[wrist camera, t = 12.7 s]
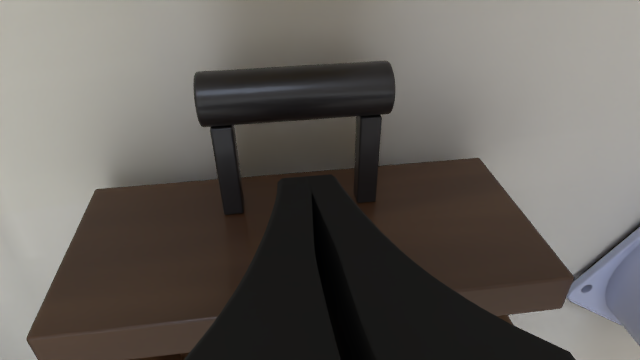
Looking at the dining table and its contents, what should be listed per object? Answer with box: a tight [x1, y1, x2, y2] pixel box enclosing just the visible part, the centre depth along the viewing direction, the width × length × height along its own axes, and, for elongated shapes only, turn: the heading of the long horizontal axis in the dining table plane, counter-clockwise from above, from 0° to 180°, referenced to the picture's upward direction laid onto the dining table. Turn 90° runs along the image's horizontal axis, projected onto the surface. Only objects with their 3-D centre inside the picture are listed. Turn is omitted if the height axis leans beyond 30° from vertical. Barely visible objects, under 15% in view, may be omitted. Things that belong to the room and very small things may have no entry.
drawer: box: [27, 61, 574, 360], centre depth 15 cm, size 16×13×6 cm
